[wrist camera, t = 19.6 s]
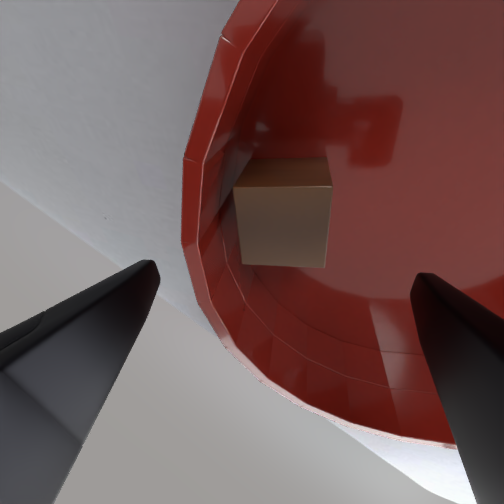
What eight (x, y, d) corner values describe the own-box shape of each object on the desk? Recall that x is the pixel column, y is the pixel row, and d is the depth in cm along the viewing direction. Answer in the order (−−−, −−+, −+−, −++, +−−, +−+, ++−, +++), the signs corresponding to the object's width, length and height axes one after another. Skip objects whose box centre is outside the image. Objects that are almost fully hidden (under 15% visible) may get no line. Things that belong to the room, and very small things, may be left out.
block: (321, 226, 16) (324, 268, 12) (254, 225, 16) (241, 264, 13) (327, 156, 13) (333, 186, 10) (249, 158, 14) (231, 186, 11)
